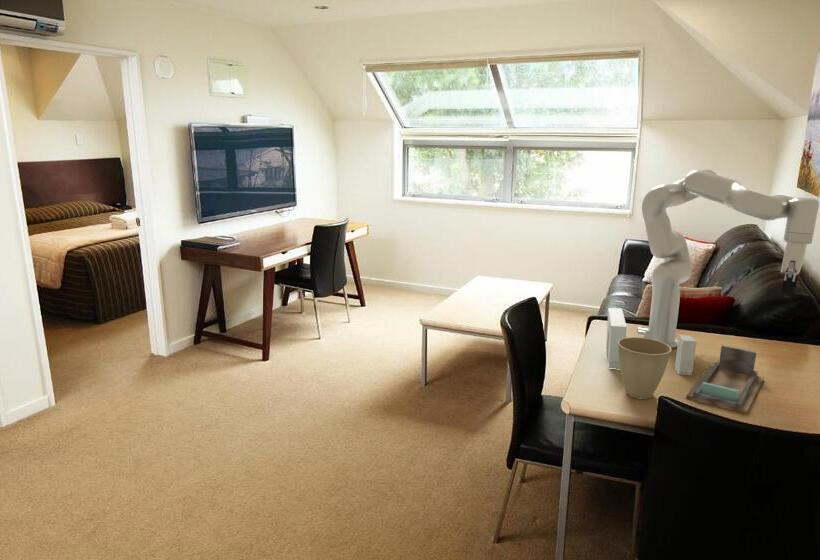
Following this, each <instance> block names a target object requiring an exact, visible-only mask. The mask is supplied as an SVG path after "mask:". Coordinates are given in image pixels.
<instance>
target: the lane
mask: <svg viewBox="0 0 820 560" xmlns="http://www.w3.org/2000/svg"><path fill="white" fill-rule="evenodd" d="M719 354H720V355H719V361H718V362H714V364H713V365H708V366H707V367H706V368H705V371H704V372H703V373H702V374H701V375H700V377H699V378H698V379H697V381H696V382H695V383H694V385H693V386H692V388H690V390H689V391H688V392H687V394H686V399H688V400H691V401H695V402H699V403H703V404H707V405H710V406H714V407H716V408H717V407H719V408H722V409H725V410H729V411H733V412H738V413H742V414H744V415H747V414H748V412H749V410H750V407H751V405H752V404H753V401H754V400H755V397H756V395H757V393H758V391H759V390H760V387H761V385H762V383H763V382H764V377H763V376H759V375H758V372H759V371H757V370H755V363H756V358H757V351H752V350H750V349H749V350H748V349H744V348H738V347H733V346H728V345H725V344H722V345H721V349H720V353H719ZM703 382H706V383H710V384H714V385H718V386H722V387H726V388H731V389H735V390H739V391H738V397H737V402H732V401H729V400H725V399H721V398H717V397H713V396H709V395H705V394H701V391H702V384H703Z"/></svg>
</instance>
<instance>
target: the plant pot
mask: <svg viewBox="0 0 820 560" xmlns="http://www.w3.org/2000/svg"><path fill="white" fill-rule="evenodd" d="M672 349H673V348H671V347H670V346H669V345H667V344H665V343H663V342H660V341H657V340H653V339H648V338H643V337H639V336H637V337H636V336H635V337H634V336H631V337H626V338H623V339H620V340H619V341H618V351H619V363H620V370H619V371H620V375H621V378H622V379H621V380H622V383H623V386H624V391H625V393H626V394H629V395H630V396H629V395H628V396H629V397H631V396H632V397H631V398H633V397H636V398H641V399H640V400H648V399H647V398H649V399H651V398H652V397H653V395H654V393H655V391H657V389H658V387H659V385H660V383H661V380H662V378H663V377H664V374H665V372H666V369H667V366H668V363H669V360H670V356H671V353H672ZM636 398H635V399H636Z"/></svg>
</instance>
